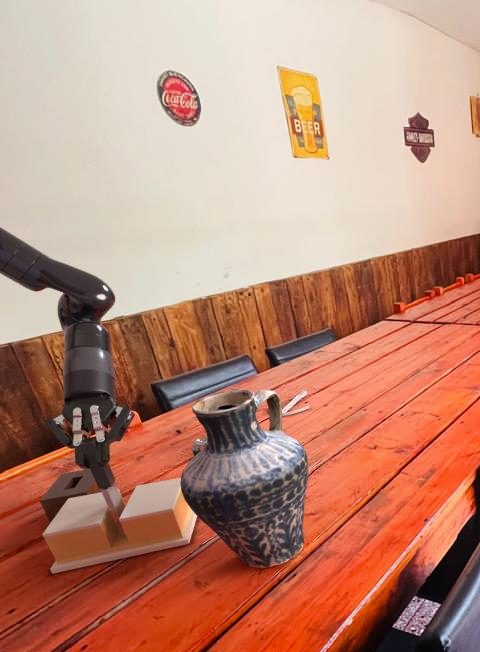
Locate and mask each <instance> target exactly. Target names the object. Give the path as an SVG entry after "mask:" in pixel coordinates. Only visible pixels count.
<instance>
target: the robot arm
mask: <svg viewBox="0 0 480 652" xmlns="http://www.w3.org/2000/svg"><path fill="white" fill-rule="evenodd" d="M0 275H1V276H4V277H6V278H7V279H8V280H11V281H12V282H14V283H16V284H18V285H19V286H21V287H22V288H25V289H26V290H29V291H32V292H34V293H35V292H36V293H37V292H42V291H44V290H45V289H52V290H54V291H56V292H60V293H62V294H61V296H60V297H59V299H58V302H57V309H56V311H57V317H58V321H59V324H60V327H61V330H62V332H63V335H64V336H63V337H64V340H63V342H64V357H63V363H62V375H63V379H62V380H63V384H62V385H63V401H64V406H63V408H62V409H61V414H60V415H58V416H57V417H55V418H51V417H48V418H46V419H45V421H44V424H45V425H46V427H48V428H49V430H50V431H51V432H52V434H53V435H54V436H55V437H56V439H57V440H58V441H59V442H60V444H61V445H63V446H64V447H66V448H69V449H70V450H74V462H75V465H76V466H78V467H79V468H80V469H81V470H86V469H90V468H89V465H88V463H87V461H86V459H85V457H84V454H83V452H82V450H81V448H80V445H79V444H80V443H81V442H82V441H83V439H84V438H90V437H92V435H91V434H92V431H94V433H95V437H96V439H97V441H98V444H96V463H97V464H98V465H99V466H101V467H103V466H107V462H108V463H110V462H111V448H110V447H111V444H113V443H115V442H120V441H122V440H123V438H124V436H125V434H126V432H127V431H128V429H129V427H130V425H131V424H132V422H133V420H134V418H135V416H136V414H135V412H134V411H133V410H131V408H129V407H127V406H124V407H121V406H120V405H119V404H118V402H117V390H116V371H115V364H114V360H113V349H112V347H113V346H112V337H111V333H110V332H109V330H108V329H107V328H106V327H105V326H104V325H102V324H101V322H102V319H103V317H104V316H105V315H106V314H107V313H108V312H109V311H110V310H111V309H112V308H113V307H114V305H115V303H116V294H115V292H114V290H113V289H112V288H111V286H109V284H108V283H107V282H105V281H104V280H103V279H101V278H100V277H98V276H96V275H95V274H92V273H91V272H88V271H85V270H83V269H80V268H78V267H75V266H73V265H70V264H68V263H65V262H62V261H60V260H57V259H54V258H52V257H50V256H49V255H48V254H45V253H43V251H41V250H39V249H37V248H36V247H35V246H34V245H31V244H29V243H28V242H26V241H25V240H24V239H22V238H20V237H18V236H16V235H15V234H13V233H12V232H10V231H8V230H6V229H5V228H3V227H1V226H0ZM115 417H116V419H115V420H114V418H115ZM113 420H114V422H113V424H112V426H110V423H112V421H113ZM66 422H68V423H70V425H71V426H72V433H73V438H72V436H71V435H70V434H69V433H68V432H67V430H66V429H67V423H66Z"/></svg>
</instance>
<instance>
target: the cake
mask: <svg viewBox="0 0 480 652" xmlns="http://www.w3.org/2000/svg"><path fill="white" fill-rule="evenodd" d="M180 482H181V477H176V478H171V479H166V480H160V481H155V482H150V483H144V484H139V485H136V486H135V488H134V490H133V491H132V494H131V495H130V497H129V498H128V501H127V503H126V502H125V499H124V497H123V495H122V493H121V490H120V489H119V488H118V490H119V492H120V495H121V497H122V499H123V502H124V504H125V506H126V507H125V509H124V510H123V512H122V514H121V516H120V518H119V521H120V523H121V525H122V527H123V530H124V532H125V534H126V535H122V536H121V534H120V532H119V530H118V528H117V525H116V523H115V521H114V519H113V516H112V514H111V512H110V510H109V507H108V505H107V503H106V501H105V498H104V496H103V494H102V492H101V493H95V494H90V495H84V496H79V497H74V498H69V499H68V500H67V501H66V502H65V504H64V505H63V507H62V508H61V509H60V511H59V512H58V514H57V515H56V516H55V518H54V519H53V520H52V522H51V523H50V522H49V525H48V526H47V527H46V529H45V530H44V531H43V533H42V534H41V535H42V537H43V539H44V541H45V542H46V544H47V546H48V548H49V550H50V552H51V554H52V556H53V558H54V560H55V561H54V562H53V564H51V565H52V566H51V567H50V568H49V571H50V572H51V574H57V573H62V572H67V571H71V570H75V569H80V568H84V567H90V566H94V565H99V564H102V563H107V562H113V561H116V560H121V559H125V558H130V557H135V556H140V555H144V554H148V553H153V552H158V551H162V550H166V549H167V550H168V549H171V548H175V547H176V548H177V547H181V546H185V545H189V544H190V542H191V538H192V535H193V531H194V529H195V525H196V522H197V518H198V516H197V515H196V514H195V513H194V512H193V511H192V509H191V508H190V507H189V505H188V504H187V502H186V501H185V499H184V497H183V494H182V491H181V485H180Z"/></svg>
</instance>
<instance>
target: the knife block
mask: <svg viewBox="0 0 480 652" xmlns="http://www.w3.org/2000/svg"><path fill="white" fill-rule="evenodd" d="M101 490H102V489H99V488H98V486H97V484H96V481H95V479H94V477H93V475H92V472H91V470H90V469H86V470H84V469H81V470H76V471H70V472H69V471H68V472H65V473H60V474H59V476H58V477H57V478H56V479H55V481H54V482H53V483H52V484H51V486H50V487H49V488H48V489H47V490H46V492H45V493H44V494H43V495H42V497H41V498H40V499H39V504H40V505H41V507H42V509H43V511H44V513H45V515H46V517H47V519H48V521H49V524H50V523H51V522H52V520H53V519H54V518H55V516H56V515H57V514H58V512H59V511H60V509H61V508H62V507H63V505H64V504H65V502H66V501H67V500H68V499H69V498H74V497H79V496H84V495H90V494H95V493H101Z"/></svg>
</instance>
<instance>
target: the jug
mask: <svg viewBox="0 0 480 652" xmlns="http://www.w3.org/2000/svg"><path fill="white" fill-rule="evenodd" d="M265 401H266V404H267V408H268V421H269V429H268V430H266V429H263V428H262V427H261V425H260V422H259V421H258V419H257V415H256V414H257V410H258V408H259V407H260V405H261V404H262V403H263V402H265ZM282 409H283V407H282V400H281V398H280V396H279V394H278V393H277V392H276V391H275V390H270V389H263V388H262V389H260V390H259V391H257V392H256V393H255V392H254V391H251V390H249V389H237V388H235V389H231V390H229V391H219V392H217V393H214V394H211V395H207V396H205V397H202V398H199V399H197V401H195V404H193V405H192V407H191V411H192V413H193V414H194V415H195V417H196V419H197V421H198V422H199V423H200V425H201V426H202V427H203V428H204V432H206V433H205V434H206V437H207V440H208V443H207V447H206V448H205V449H204V450H202V451H201V452H199V453H198V454H197V455H196V456H195V457H194V456H193V457H192V458H191V459H190V460H189V461H188V463H187V464H186V466H185V467H184V469H183V471H182V472H181V477H180V478H181V482H180V485H181V491H182V494H183V497H184V499H185V501H186V502H187V504H188V505H189V507H190V508H191V509H192V511H193V512H194V513H195V514H196V515H197V518H198V519H199V520H200V521H201V522H203V523H204V524H205V525H206V526H207V527H209V528H210V530H211V531H213V532H214V533H215V534H216V535H217V536H218V537H219V538H220V539H221V540H222V541H223V542H224V544H225V545H226V546H227V547H228V548H229V549H230V550H231V551H232V552H233V553H234V554H236V556H238V558H239V559H241V561H242V562H243V563H244V564H246V565H247V566H249V567H253V568H257V569H265V568H266V569H267V568H271V567H274V566H280V565H282V564H284V563H287V562H288V561H290V560H291V559H293V558H294V557H296V556H297V555H298V554H299V553H300V552H301V551H302V550H303V547H304V545H305V542H306V541H305V540H306V539H305V534H304V517H305V506H306V505H305V504H306V497H307V491H308V485H309V459H308V454H307V452H306V449H305V448H304V446H303V445H302V443H301V442H300V441H298V440H297V439H296V438H294V437H293V436H291V435H288V434H286V432H284V429H283V416H282Z"/></svg>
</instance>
